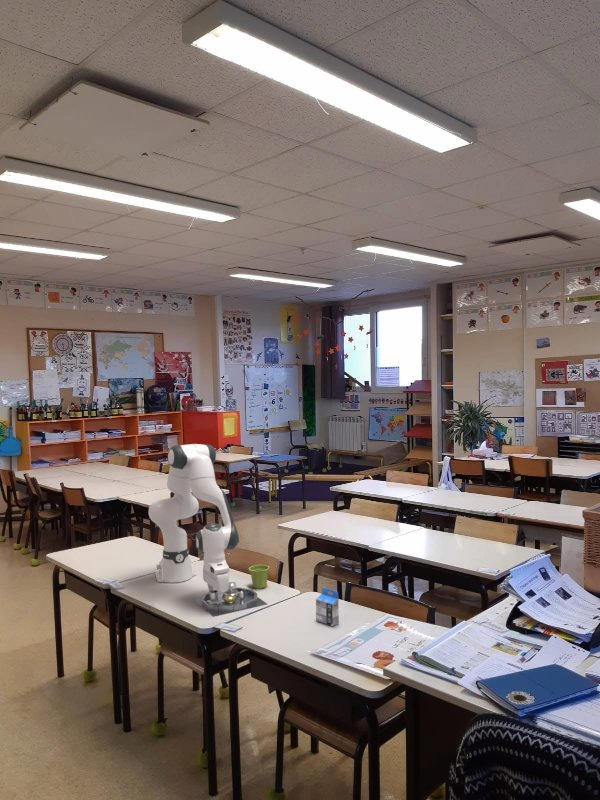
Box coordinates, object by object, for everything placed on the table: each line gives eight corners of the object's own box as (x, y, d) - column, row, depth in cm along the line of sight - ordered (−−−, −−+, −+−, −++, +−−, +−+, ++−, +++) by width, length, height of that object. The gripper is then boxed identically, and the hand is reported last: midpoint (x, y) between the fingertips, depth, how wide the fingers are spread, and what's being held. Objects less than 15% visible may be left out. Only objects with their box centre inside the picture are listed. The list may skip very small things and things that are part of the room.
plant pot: (248, 590, 267) (247, 571, 267) (250, 583, 276) (249, 565, 276) (269, 590, 267) (268, 570, 267) (270, 583, 276) (269, 564, 276)
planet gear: (204, 603, 249) (204, 590, 249) (220, 600, 252) (219, 587, 252) (210, 608, 243) (210, 595, 243) (226, 605, 246) (226, 592, 246)
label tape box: (315, 621, 230) (314, 589, 230) (322, 617, 233) (321, 586, 233) (332, 627, 224) (331, 594, 223) (339, 623, 227) (338, 591, 226)
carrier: (192, 601, 255) (192, 586, 255) (244, 590, 267) (243, 575, 267) (213, 619, 234) (212, 602, 234) (268, 607, 246) (267, 590, 246)
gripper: (198, 559, 255) (199, 591, 255) (216, 571, 237) (217, 606, 237) (212, 557, 258) (213, 588, 258) (231, 568, 240) (232, 602, 240)
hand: (215, 597), depth 247 cm, fingers open, 8 cm apart
